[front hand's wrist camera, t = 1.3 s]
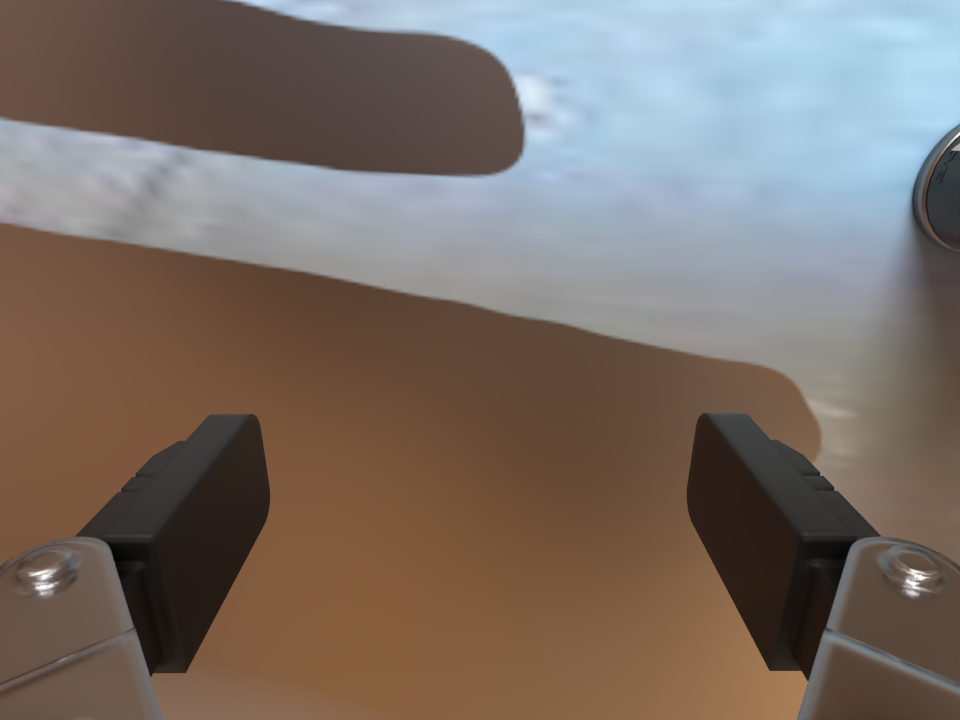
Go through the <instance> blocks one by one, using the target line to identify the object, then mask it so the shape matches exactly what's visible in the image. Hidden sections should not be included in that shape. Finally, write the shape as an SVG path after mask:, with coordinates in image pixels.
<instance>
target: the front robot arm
mask: <svg viewBox="0 0 960 720" xmlns="http://www.w3.org/2000/svg"><path fill="white" fill-rule="evenodd" d="M914 209H915V215H916V218H917V221H918V223H919V226H920V228H921V229H922V231H923V232H924V234H925V235H926V236H927V237H928V238H929V239H930V240H931V241H933V242H934V243H935V244H937V245H939V246H941V247H943V248H945V249H949V250H952V251H956V252H959V253H960V124H959V125H958V126H956V127H955V128H953V129H952V130H951V131H950V132H949V133H948V134H946V135H945V136H944V137H943V138H942V139H941V140H940V141H939V143H938V144H937V145H936V146H935V147H934V149H933V150H932V151H931V153H930V154H929V156H928V157H927V159H926V161H925V163H924V165H923V166H922V169H921V171H920V173H919V176H918V179H917V183H916V187H915V194H914ZM687 504H688V511H689V515H690V518H691V521H692V523H693V525H694V527H695V529H696V531H697V533H698V535H699V537H700V539H701V541H702V543H703V544H704V546H705V548H706V550H707V552H708V554H709V556H710V558H711V560H712V562H713V564H714V565H715V567H716V569H717V571H718V573H719V575H720V577H721V579H722V581H723V583H724V585H725V586H726V588H727V590H728V592H729V594H730V596H731V598H732V600H733V602H734V604H735V606H736V607H737V609H738V611H739V613H740V615H741V617H742V619H743V621H744V623H745V624H746V627H747V628H748V630H749V632H750V634H751V636H752V638H753V640H754V642H755V644H756V646H757V648H758V649H759V651H760V653H761V655H762V657H763V659H764V661H765V663H766V665H767V667H768V669H769V670H770V671H802V672H803V674H804V675H805V677H806V679H807V681H808V685H807V688H806V691H805V695H804V698H803V701H802V704H801V708H800V711H799V714H798V717H797V720H960V566H959V565H958V564H956V563H955V562H953V561H952V560H950V559H949V558H947V557H945V556H944V555H942V554H940V553H938V552H936V551H934V550H932V549H929V548H927V547H925V546H922V545H919V544H916V543H913V542H910V541H906V540H902V539H897V538H890V537H881V536H880V535H879V534H878V533H877V531H876V530H875V529H874V528H873V527H872V526H871V525H870V524H869V523H868V522H867V521H866V520H865V519H864V518H863V517H862V516H861V515H860V514H859V513H858V512H857V511H856V510H855V509H854V507H853V506H852V505H851V504H850V503H849V502H848V501H847V500H846V499H845V498H844V497H843V496H842V495H841V494H840V493H839V492H838V491H834V487H833V486H832V485H831V483H830V482H829V481H828V480H827V479H826V478H825V477H824V476H820V472H819V471H818V470H817V469H816V468H815V467H814V466H813V465H812V464H811V463H810V462H809V461H808V460H807V458H805V456H804V455H802V454H801V453H799V452H797V451H795V450H794V449H792V448H790V447H788V446H787V445H785V444H783V443H781V442H780V441H778V440H770V439H769V438H768V437H767V436H766V434H765V433H764V432H763V431H762V430H761V429H760V428H759V427H758V426H757V424H756V423H755V422H754V421H753V420H752V419H751V418H750V417H749V416H748V415H747V414H745V413H703V414H701V416H700V417H699V419H698V421H697V425H696V431H695V437H694V444H693V451H692V458H691V465H690V471H689V478H688V485H687ZM269 505H270V488H269V481H268V474H267V467H266V461H265V454H264V447H263V440H262V434H261V428H260V423H259V421H258V418H257V417H256V416H255V415H253V414H211V415H209V416H208V417H207V418H206V419H205V420H204V421H203V422H202V423H201V425H200V426H199V427H198V428H197V429H196V430H195V431H194V432H193V433H192V434H191V436H190V437H189V438H188V439H187V440H186V441H178V442H177V443H175V444H173V445H171V446H170V447H168V448H166V449H164V450H163V451H161V452H159V453H157V454H156V455H154V456H152V458H151V459H150V460H149V461H148V462H147V463H146V464H145V465H144V466H143V467H142V468H141V469H140V470H139V471H138V472H137V473H136V477H132V478H131V479H130V480H129V481H128V482H127V483H126V485H124V486H123V487H122V489H121V493H117V494H116V495H115V496H114V497H113V498H112V499H111V500H110V501H109V502H108V503H107V504H106V505H105V506H104V507H103V508H102V509H101V510H100V511H99V512H98V513H97V514H96V515H95V516H94V518H92V519H91V521H90V522H89V523H88V524H87V525H86V526H85V527H84V528H83V529H82V530H81V531H80V532H79V533H78V534H77V535H76V536H75V537H70V538H63V539H59V540H54V541H50V542H47V543H44V544H41V545H38V546H35V547H33V548H31V549H28V550H26V551H24V552H22V553H20V554H18V555H16V556H15V557H13V558H11V559H10V560H8V561H7V562H5V563H4V564H2V565H1V566H0V720H163V717H162V714H161V711H160V708H159V704H158V701H157V698H156V694H155V691H154V688H153V684H152V681H151V676H152V674H153V673H186V671H187V669H188V667H189V666H190V664H191V662H192V660H193V658H194V656H195V654H196V652H197V651H198V649H199V647H200V645H201V643H202V641H203V639H204V637H205V635H206V634H207V632H208V630H209V628H210V626H211V624H212V622H213V620H214V618H215V617H216V615H217V613H218V611H219V609H220V607H221V605H222V603H223V602H224V600H225V598H226V596H227V594H228V592H229V590H230V588H231V586H232V584H233V583H234V581H235V579H236V577H237V575H238V573H239V571H240V569H241V568H242V566H243V564H244V562H245V560H246V558H247V556H248V554H249V552H250V550H251V549H252V547H253V545H254V543H255V541H256V539H257V537H258V535H259V534H260V532H261V530H262V528H263V526H264V524H265V522H266V519H267V516H268V511H269Z"/></svg>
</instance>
